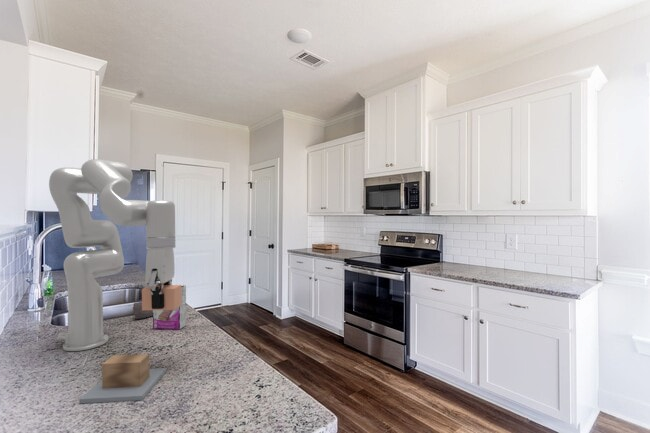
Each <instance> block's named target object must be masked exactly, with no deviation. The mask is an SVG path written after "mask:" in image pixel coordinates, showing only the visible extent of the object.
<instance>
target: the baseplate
mask: <svg viewBox="0 0 650 433" xmlns="http://www.w3.org/2000/svg"><path fill="white" fill-rule="evenodd" d="M166 372H167V367H164V368H163V367H162V368H158V367H156V368H149V375H150V376H149V378H148V379H147V380H146V381H145V382H144V383H143V384H142V385H141V386H138V387H118V388H102V379H101V380H100V381H99V382H98V383H97V384H95V385H94V386H93V387H92V388H91V389H89V390H88V391H87V392H85V394H84V395H83V396H81V397H80V398H79V400H78V401H79V403H78V404H92V403H95V404H96V403H109V402H110V403H115V402H129V401H130V402H131V401H134V402H135V401H143V400H144V399H145V398H146V396H147V395H148V394H149V393H150V392H151V390H152V389H153V388H154V387H155V386H156V385H157V383H158V382H159V381H160V380H161V378H163V376H164V375H165V373H166Z"/></svg>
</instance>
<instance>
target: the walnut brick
mask: <svg viewBox="0 0 650 433" xmlns="http://www.w3.org/2000/svg"><path fill="white" fill-rule="evenodd" d="M101 369H102V370H101V376H102V377H101V380H102V388H118V387H138V386H141V385H142V384H143V383H144V382H145V381H146V380H147V379H148V378H149V376H150V375H149V369H150V353H140V354H139V353H137V354H136V353H134V354H113V355H112V356H110V357H109V358H108V359H107V360H105V361H104V362H103V363H101Z"/></svg>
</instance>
